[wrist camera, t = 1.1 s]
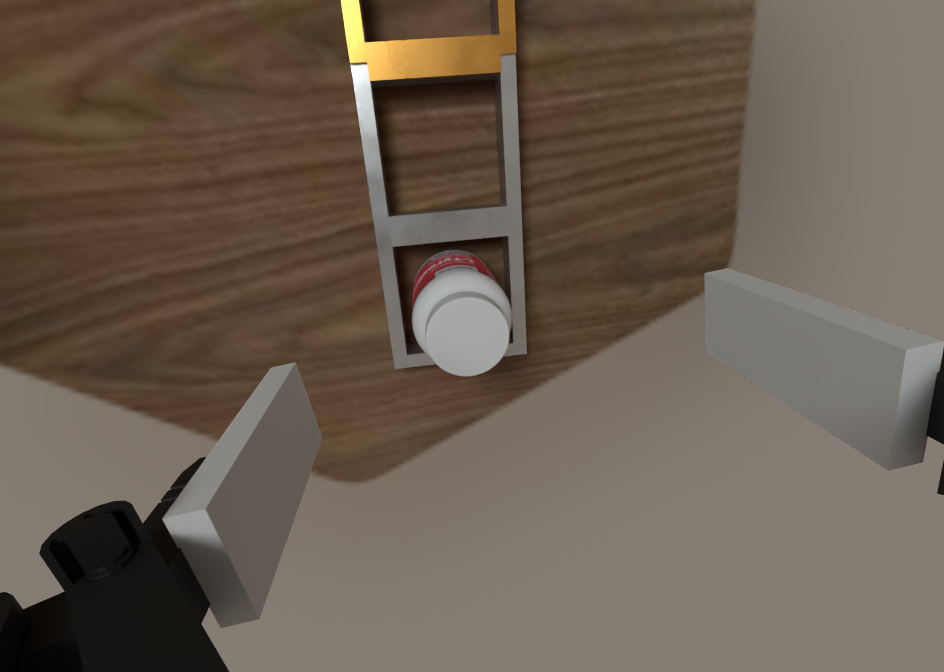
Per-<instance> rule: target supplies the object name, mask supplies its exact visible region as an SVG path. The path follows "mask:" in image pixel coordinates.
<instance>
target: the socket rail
mask: <svg viewBox="0 0 944 672" xmlns="http://www.w3.org/2000/svg"><path fill="white" fill-rule="evenodd" d="M341 4H342V11H343V18H344V25H345V32H346V39H347V45H348V52H349V59H350V64H351V69H352V76H353V83H354V90H355V97H356V104H357V111H358V118H359V124H360V131H361V138H362V145H363V152H364V159H365V166H366V173H367V179H368V186H369V193H370V200H371V207H372V214H373V221H374V228H375V234H376V241H377V248H378V255H379V262H380V269H381V276H382V283H383V289H384V296H385V303H386V310H387V317H388V324H389V331H390V338H391V345H392V351H393V358H394V365H395V369H399V368H408V367H417V366H425V365H434V364H436V363H435V362H434V361H433V359H432V358H431V357H429V356H428V355H427V354H426V353H425V352H424V351H423V349H422V348H421V347H420V345H419V344H418V342H413V343H407V336H406V329H405V321H404V314H403V306H402V299H401V291H400V284H399V276H398V269H397V261H396V253H395V247H396V246H406V245H417V244H427V243H438V242H449V241H459V240H470V239H481V238H491V237H502V239H503V258H504V277H505V294H506V296H507V298H508V300H509V303H510V306H511V311H512V325H511V330H510V333H509V344H508V347H507V350H506V352H505V354H504V355H503V357H504V356H513V355H521V354H527V342H526V315H525V289H524V262H523V236H522V209H521V183H520V157H519V130H518V104H517V77H516V53H517V50H516V24H515V0H490V11H491V30H492V35H482V36H465V37H449V38H432V39H416V40H399V41H382V42H367V35H366V27H365V20H364V12H363V5H362V0H341ZM483 80H494V87H495V106H496V125H497V144H498V163H499V182H500V201H501V203H498V204H487V205H475V206H464V207H453V208H441V209H430V210H419V211H408V212H396V213H390V208H389V201H388V193H387V186H386V178H385V171H384V163H383V155H382V148H381V140H380V133H379V125H378V118H377V110H376V103H375V95H374V88H379V87H394V86H409V85H424V84H438V83H453V82H468V81H483Z"/></svg>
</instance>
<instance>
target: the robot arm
mask: <svg viewBox="0 0 944 672" xmlns="http://www.w3.org/2000/svg"><path fill="white" fill-rule="evenodd" d="M705 332H706V334H705V336H706V352H707V353H708V354H710V355H711V356H713V357H714V358H716V359H718V360H719V361H721V362H722V363H724V364H725V365H727V366H728V367H730V368H732V369H733V370H734V371H736V372H738V373H739V374H741V375H742V376H744V377H745V378H747V379H748V380H750V381H751V382H753V383H754V384H756V385H758V386H759V387H761V388H762V389H764V390H765V391H767V392H768V393H770V394H772V395H773V396H774V397H776V398H778V399H779V400H781V401H782V402H784V403H785V404H787V405H788V406H790V407H791V408H793V409H794V410H796V411H797V412H799V413H800V414H802V415H804V416H805V417H807V418H808V419H810V420H812V421H813V422H814V423H816V424H817V425H819V426H821V427H822V428H824V429H825V430H827V431H828V432H830V433H831V434H833V435H834V436H836V437H837V438H839V439H840V440H842V441H844V442H845V443H847V444H848V445H850V446H851V447H853V448H854V449H856V450H857V451H859V452H860V453H862V454H864V455H865V456H867V457H868V458H870V459H871V460H873V461H875V462H876V463H877V464H879V465H880V466H882V467H883V468H885V469H887V470H892V469H896V468H901V467H905V466H909V465H913V464H917V463H922V462H923V459H924V453H925V448H926V442H927V437H928V436H929V437H931V438H933V439H934V440H936V441H938V442H940V443H942V444H944V340H941V339H938V338H935V337H932V336H929V335H925V334H922V333H920V332H917V331H913V330H910V329H908V328H905V327H902V326H899V325H895V324H893V323H889V322H887V321H884V320H881V319H878V318H875V317H871V316H869V315H866V314H863V313H860V312H857V311H854V310H851V309H848V308H845V307H842V306H839V305H836V304H833V303H830V302H827V301H824V300H821V299H818V298H815V297H812V296H809V295H806V294H803V293H800V292H797V291H794V290H791V289H788V288H785V287H782V286H779V285H776V284H773V283H770V282H767V281H764V280H761V279H758V278H755V277H752V276H749V275H746V274H743V273H740V272H737V271H734V270H731V269H728V268H727V269H722V270H717V271H713V272H708V273H705ZM321 441H322V435H321V432H320V429H319V426H318V424H317V421H316V418H315V415H314V412H313V410H312V407H311V404H310V401H309V398H308V396H307V393H306V390H305V387H304V384H303V382H302V379H301V376H300V373H299V370H298V368H297V365H296V362H295V363H291V364H286V365H281V366H277V367H272V368H270V370H269V371H268V373H267V374H266V375H265V377H264V378H263V380H262V381H261V382H260V384H259V385H258V387H257V388H256V389H255V391H254V392H253V393H252V395H251V396H250V398H249V399H248V400H247V402H246V403H245V405H244V406H243V407H242V409H241V410H240V411H239V413H238V414H237V416H236V417H235V418H234V420H233V421H232V423H231V424H230V425H229V427H228V428H227V430H226V431H225V432H224V434H223V435H222V436H221V438H220V439H219V441H218V442H217V443H216V445H215V446H214V448H213V449H212V451H211V452H210V453H209V454H208V456H207V457H203V458H200V459H198V460H197V461H196V462H195V463H193V464H192V465H191V466H190V467H189V468H187V469H186V470H185V471H183V473H181V475H180V476H179V477H178V478H177V480H176V481H175V483H174V484H173V485H172V486H171V490H169V491H168V492H167V493H166V494H165V495H164V497H163V498H162V499H161V503H158V505H157V506H156V507H155V508H154V510H153V511H152V512H151V514H150V515H149V516H148V518H147V519H146V520H145V522H144V523H142V522H141V520H140V518H139V516H138V514H137V513H136V511H135V509H134V507H133V505H132V504H131V503H129V502H127V501H113V502H109V503H106V504H103V505H99V506H97V507H94V508H92V509H90V510H88V511H85V512H83V513H81V514H80V515H78V516H76V517H75V518H73V519H71V520H70V521H68V522H66V523H65V524H63V525H62V526H61V527H60V528H58V529H57V530H56V531H55V532H53V533H52V534H51V535H50V536H49V537H48V539H47V540H46V541H45V542H44V543H43V544H42V546H41V550H40V553H39V554H40V555H41V557H42V558H43V560H44V561H45V563H46V564H47V566H48V567H49V568H50V570H51V572H52V573H53V574H54V576H55V578H56V579H57V581H58V582H59V583H60V585H61V586H62V588H63V589H64V591H65V592H63V593H60V594H58V595H56V596H53V597H51V598H49V599H46V600H44V601H42V602H39V603H37V604H35V605H32V606H30V607H28V608H25V609H22V607H21V606H20V605H19V603H18V602H17V601H16V599H15V598H14V596H13V595H11V594H9V593H6V592H2V593H0V672H229V671H228V669H227V667H226V665H225V664H224V662H223V660H222V659H221V657H220V655H219V654H218V652H217V650H216V648H215V647H214V645H213V643H212V642H211V640H210V638H209V636H208V635H207V633H206V631H205V630H204V628H203V626H202V625H201V623H202V621H203V619H204V617H205V615H206V613H207V610H208V608H209V607H210V609H211V611H212V612H213V614H214V616H215V618H216V620H217V622H218V624H219V626H220V628H223V627H227V626H232V625H236V624H240V623H244V622H249V621H253V620H257V619H259V618H260V616H261V612H262V610H263V607H264V604H265V601H266V598H267V595H268V592H269V590H270V587H271V584H272V581H273V578H274V575H275V573H276V570H277V567H278V564H279V561H280V558H281V555H282V552H283V549H284V547H285V544H286V541H287V538H288V535H289V532H290V529H291V526H292V524H293V520H294V518H295V515H296V512H297V509H298V507H299V504H300V501H301V498H302V495H303V492H304V489H305V486H306V484H307V481H308V478H309V475H310V472H311V469H312V466H313V463H314V461H315V458H316V455H317V452H318V449H319V446H320V443H321ZM938 494H942V495H944V462H943V467H942V472H941V477H940V481H939V487H938Z"/></svg>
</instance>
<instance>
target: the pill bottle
mask: <svg viewBox="0 0 944 672" xmlns="http://www.w3.org/2000/svg"><path fill="white" fill-rule="evenodd" d="M511 325H512V311H511V306H510V303H509V300H508V298H507V296H506V294H505V292H504V291H503V289H502V288H501V286H500V285H499V283H498V282H497V280H496V279H495V277H494V276H493V274H492V273H491V271H490V269H489V268H488V267H487V265H486V264H485V263H484V262H483V261H482V260H481V259H480V258H478V257H477V256H475V255H474V254H472V253H469V252H466V251H462V250H447V251H443V252H440V253H438V254H435V255H434V256H432V257H430V258H429V259H428V260H427V261H426V262H425V263H424V264H423V265H422V266H421V267H420V269H419V271H418V273H417V275H416V277H415V281H414V286H413V305H412V326H413V331H414V335H415V338H416V340H417V342H418V344H419V345H420V347H421V348H422V349H423V351H424V352H425V353H426V354H427V355H428V356H429V357H431V358H432V359H433V361H434V362H435V363H436V364H437V365H438V366H439V367H440V368H442V369H443V370H445V371H446V372H448V373H451V374H454V375H458V376H474V375H478V374H482V373H484V372H486V371H488V370H490V369H491V368H493V367H494V366H495V365H496V364H497V363H498V362H499V361H500V360H501V359H502V357H503V355H504V354H505V352H506V350H507V347H508V344H509V333H510V330H511Z"/></svg>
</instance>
